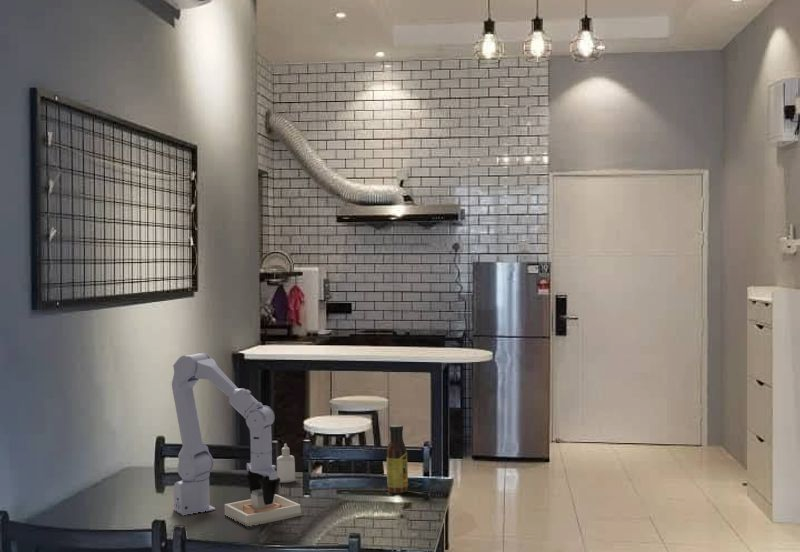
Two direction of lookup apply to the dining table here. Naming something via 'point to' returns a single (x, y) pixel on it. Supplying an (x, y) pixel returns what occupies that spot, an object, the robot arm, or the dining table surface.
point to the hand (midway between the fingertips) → (262, 500)
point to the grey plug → (258, 500)
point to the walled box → (262, 511)
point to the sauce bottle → (397, 461)
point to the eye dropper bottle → (286, 466)
